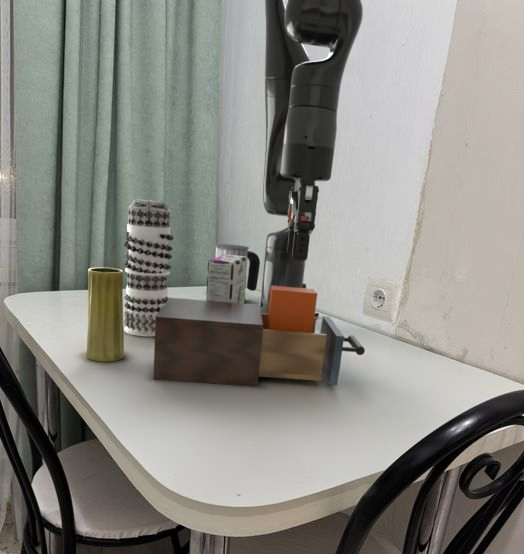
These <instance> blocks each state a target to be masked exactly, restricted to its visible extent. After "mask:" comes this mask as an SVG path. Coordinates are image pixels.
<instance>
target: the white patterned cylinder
mask: <svg viewBox="0 0 524 554" xmlns="http://www.w3.org/2000/svg"><path fill="white" fill-rule="evenodd" d="M127 208H128V223H127V224H126V225H127V226H126V227H127V231H126V232H125V233H124V234H123V238H124V240H125V241H124V243H123V246H124V247H125V249H127V251H126V252H124V258H125V259H126V260H125V261H124V266H125V268H124V270H125V272H126V273H127V285H126V287H125V288H126V289H125V291H126V292H125V293H126V294H125V296H124V298H123V299H124V300H125V301H126V302H125V303H124V304H123V307H125V309H126V310H125V311H124V312H123V317H124V318H125V319H123V325H124V326H125V327H123V331H124V333H127V334H128V335H132V336H137V337H155V322H156V321H155V317H156V315H157V314H158V313H159V311H160V310H161V309H162V307H163V306H164V305H165V303H166V302H167V300H168V299H169V298H170V297H169V296H168V295H169V288H168V276H169V275H170V274H171V271H170V269H171V268H172V266H171V265H170V264H169V263H168V261H169V260H171V259H172V257H173V256H172V254H170V252H171V251H173V246H171V244H169V242H171V241H172V240H174V236H173V235H172V234H171V227H170V218H171V210H170V209H169V207H168V204H167V203H165V202H164V201H160V200H149V199H134V200H133V201H132V203H131V204H130V206H127Z"/></svg>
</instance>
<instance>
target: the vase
mask: <svg viewBox="0 0 524 554" xmlns="http://www.w3.org/2000/svg"><path fill="white" fill-rule="evenodd" d="M87 272H88V273H87V274H88V278H87V279H88V283H87V301H88V302H87V337H86V339H87V340H86V342H87V343H86V352H85V357H86V358H87V359H88V360H90V361H94V362H100V363H101V362H102V363H109V362H116V361H120V360H122V359H124V358H125V357H126V356H125V355H126V354H125V346H124V345H125V335H124V333H125V331H124V300H123V299H124V298H123V296H124V295H123V292H124V291H123V290H124V289H123V287H124V286H123V285H124V271H123V270H122V269H121V268H115V267H90V268H88V270H87Z"/></svg>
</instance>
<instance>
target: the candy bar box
mask: <svg viewBox="0 0 524 554" xmlns="http://www.w3.org/2000/svg"><path fill="white" fill-rule="evenodd" d="M247 265H248V259H247V257H245V256H238V255H222V256H219V257H217V258H215V257H214V258H211V259H208V260H207V278H206V299H205V301H216V302H228V303H241V304H245V302H244V299H245V300H246V285H247V283H246V282H247V270H248V269H247V268H248V266H247ZM245 284H246V285H245Z"/></svg>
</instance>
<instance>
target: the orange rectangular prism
mask: <svg viewBox="0 0 524 554" xmlns="http://www.w3.org/2000/svg"><path fill="white" fill-rule="evenodd" d="M317 301H318V293H317V291H316V290H315V289H314V288H307V287H306V288H295V287H283V286H271V290H270V300H269V311H268V321H267V329H269V330H282V331H294V332H307V333H313V325H314V317H315V313H316V309H317Z"/></svg>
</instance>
